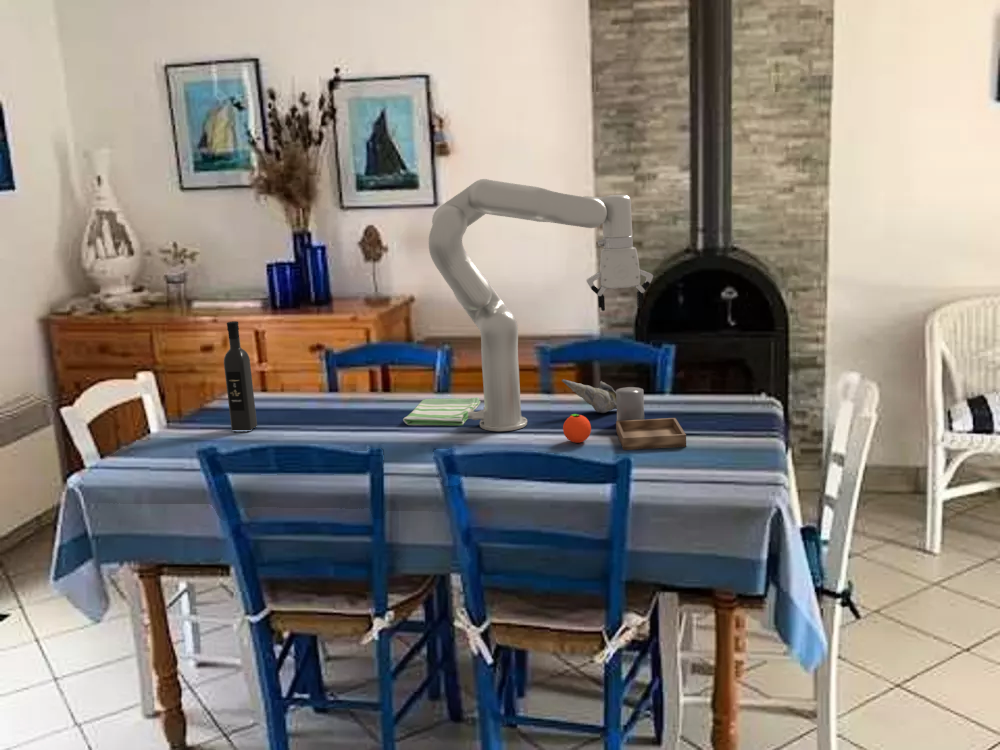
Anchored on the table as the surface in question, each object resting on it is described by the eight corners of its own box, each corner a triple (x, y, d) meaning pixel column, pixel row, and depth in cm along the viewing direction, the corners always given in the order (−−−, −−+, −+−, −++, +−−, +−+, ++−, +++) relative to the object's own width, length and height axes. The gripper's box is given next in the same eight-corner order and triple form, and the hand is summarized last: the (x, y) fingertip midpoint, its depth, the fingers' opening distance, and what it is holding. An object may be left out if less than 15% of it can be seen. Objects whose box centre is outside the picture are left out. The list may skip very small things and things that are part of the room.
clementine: (557, 439, 256) (556, 412, 255) (582, 435, 259) (581, 408, 257) (570, 447, 249) (569, 419, 247) (596, 443, 251) (595, 415, 250)
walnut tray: (623, 450, 245) (623, 438, 244) (616, 432, 260) (616, 421, 259) (686, 446, 245) (686, 434, 244) (675, 429, 259) (675, 417, 259)
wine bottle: (249, 432, 278) (237, 323, 271) (230, 432, 279) (217, 324, 272) (258, 427, 283) (246, 320, 276) (239, 426, 284) (227, 320, 278)
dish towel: (481, 404, 296) (481, 395, 295) (465, 427, 274) (464, 417, 273) (421, 405, 299) (421, 395, 299) (400, 427, 277) (399, 417, 276)
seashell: (625, 416, 274) (624, 379, 271) (562, 416, 277) (561, 380, 275) (627, 406, 283) (626, 371, 281) (566, 407, 286) (565, 372, 284)
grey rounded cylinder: (618, 428, 263) (617, 394, 261) (615, 421, 270) (614, 388, 268) (646, 427, 263) (645, 393, 261) (642, 419, 270) (641, 386, 268)
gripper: (586, 247, 261) (589, 313, 265) (653, 242, 261) (656, 308, 265) (583, 244, 268) (586, 309, 272) (649, 239, 268) (651, 304, 272)
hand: (621, 308), depth 269 cm, fingers open, 9 cm apart
